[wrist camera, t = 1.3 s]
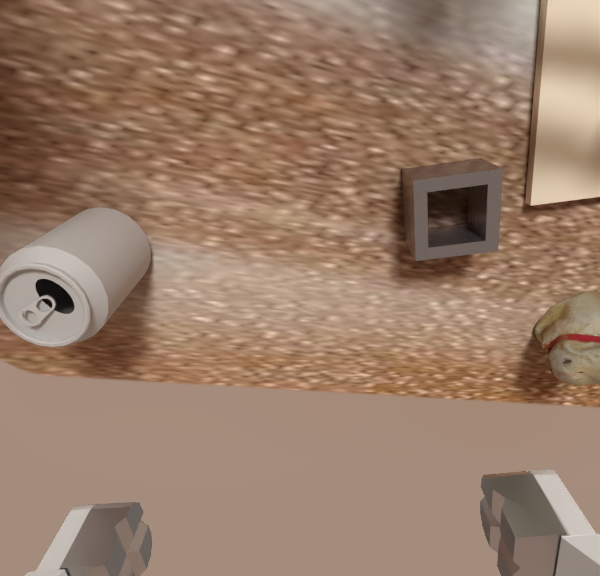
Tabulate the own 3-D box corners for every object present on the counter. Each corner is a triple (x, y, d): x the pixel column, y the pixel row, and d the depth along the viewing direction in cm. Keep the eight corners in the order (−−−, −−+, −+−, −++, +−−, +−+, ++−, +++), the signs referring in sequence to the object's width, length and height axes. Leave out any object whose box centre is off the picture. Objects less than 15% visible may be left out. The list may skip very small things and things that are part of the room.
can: (171, 254, 40) (122, 320, 29) (113, 297, 42) (47, 375, 31) (110, 186, 37) (31, 232, 27) (51, 236, 39) (-45, 297, 29)
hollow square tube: (401, 169, 37) (413, 180, 33) (480, 158, 36) (502, 168, 32) (404, 242, 39) (415, 261, 35) (478, 232, 39) (498, 250, 35)
